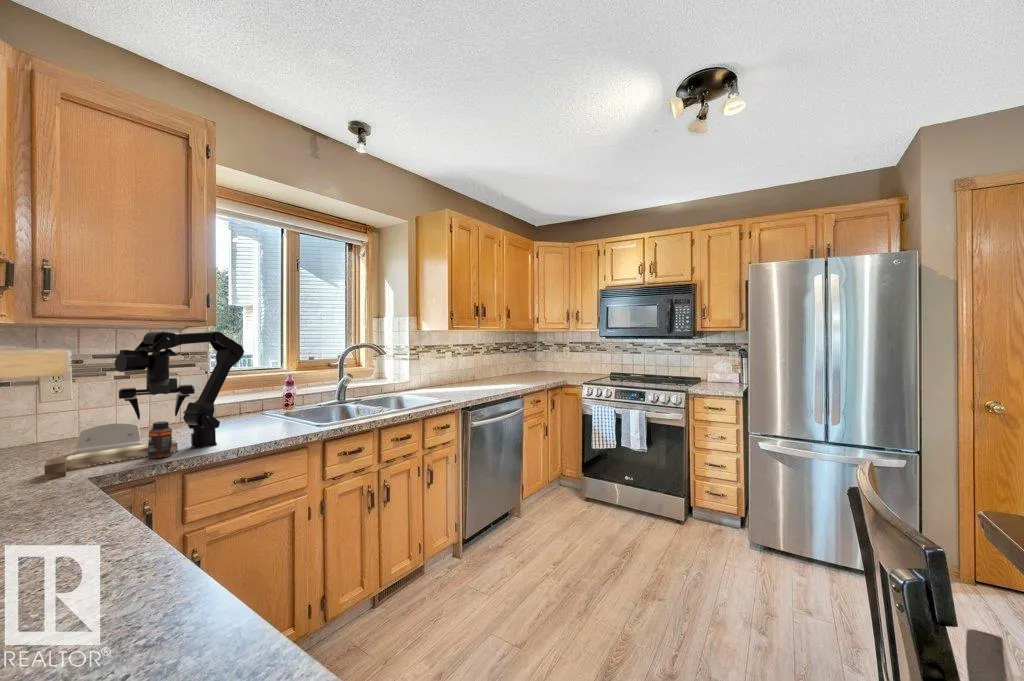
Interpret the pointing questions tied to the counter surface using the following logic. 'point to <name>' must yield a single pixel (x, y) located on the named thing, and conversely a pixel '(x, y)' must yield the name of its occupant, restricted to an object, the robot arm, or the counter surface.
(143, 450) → the maple board
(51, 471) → the walnut block
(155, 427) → the supplement bottle
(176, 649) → the counter surface
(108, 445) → the grey curved bracket
